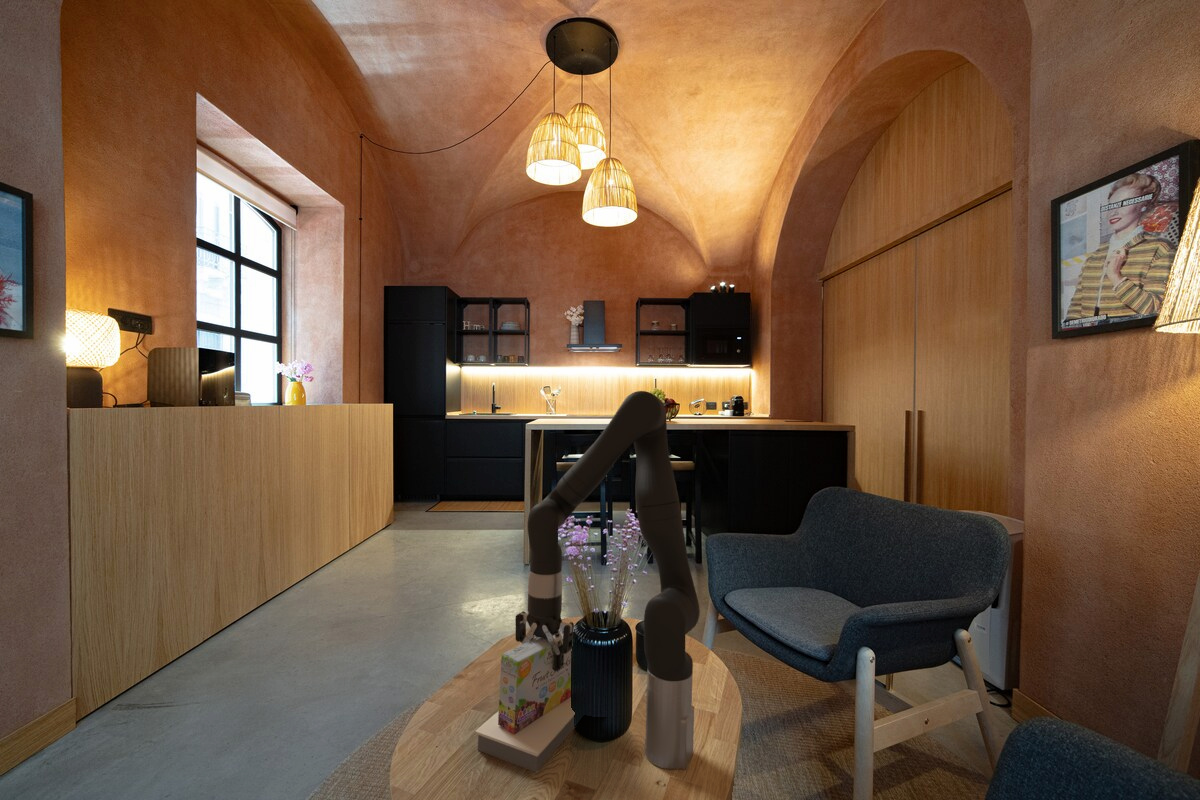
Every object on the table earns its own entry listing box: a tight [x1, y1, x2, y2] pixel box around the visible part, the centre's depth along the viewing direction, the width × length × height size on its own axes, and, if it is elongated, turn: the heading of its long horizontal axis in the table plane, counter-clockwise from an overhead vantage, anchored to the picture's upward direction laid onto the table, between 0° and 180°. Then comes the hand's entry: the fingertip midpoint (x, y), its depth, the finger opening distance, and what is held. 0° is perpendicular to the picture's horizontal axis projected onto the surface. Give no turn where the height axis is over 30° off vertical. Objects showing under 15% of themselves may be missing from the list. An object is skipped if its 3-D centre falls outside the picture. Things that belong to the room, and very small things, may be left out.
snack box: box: [498, 626, 576, 734], centre depth 115 cm, size 21×6×15 cm, turn 144°
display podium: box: [474, 697, 576, 773], centre depth 115 cm, size 15×27×4 cm, turn 155°
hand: (542, 665), depth 115 cm, fingers open, 7 cm apart
